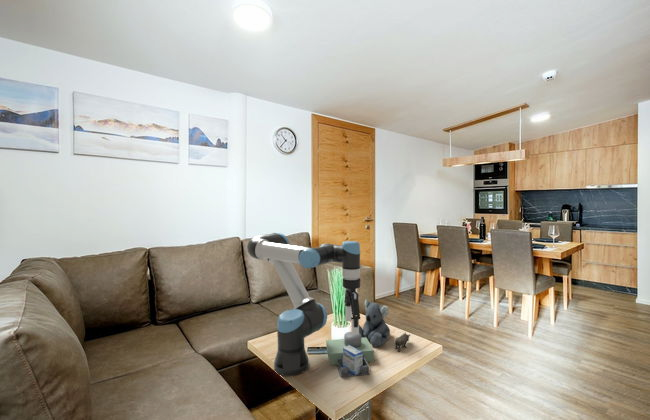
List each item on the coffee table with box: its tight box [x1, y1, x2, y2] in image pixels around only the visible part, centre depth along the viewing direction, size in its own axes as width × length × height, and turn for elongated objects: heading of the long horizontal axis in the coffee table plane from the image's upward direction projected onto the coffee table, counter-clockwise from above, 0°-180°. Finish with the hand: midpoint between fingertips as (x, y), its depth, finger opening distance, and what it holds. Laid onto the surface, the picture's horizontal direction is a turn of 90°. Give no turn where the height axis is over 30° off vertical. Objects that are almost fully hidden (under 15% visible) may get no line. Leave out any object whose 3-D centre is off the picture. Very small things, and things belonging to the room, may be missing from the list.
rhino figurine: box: [394, 332, 411, 353], centre depth 147 cm, size 4×14×6 cm, turn 138°
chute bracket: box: [336, 356, 370, 378], centre depth 126 cm, size 12×9×4 cm
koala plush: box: [359, 299, 391, 348], centre depth 156 cm, size 17×18×20 cm
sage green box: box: [325, 331, 375, 366], centre depth 138 cm, size 20×13×9 cm, turn 97°
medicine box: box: [343, 345, 363, 375], centre depth 126 cm, size 8×4×9 cm, turn 40°
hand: (351, 327), depth 126 cm, fingers open, 13 cm apart
